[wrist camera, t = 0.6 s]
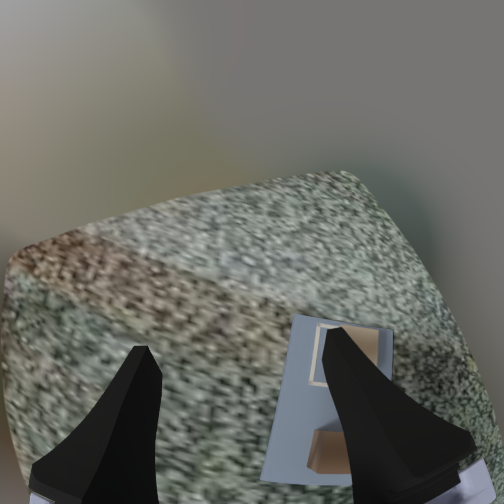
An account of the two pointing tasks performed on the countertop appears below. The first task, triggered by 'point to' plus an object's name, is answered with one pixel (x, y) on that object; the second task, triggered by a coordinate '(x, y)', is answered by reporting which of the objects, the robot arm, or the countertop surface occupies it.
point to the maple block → (364, 340)
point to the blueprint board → (309, 403)
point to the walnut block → (328, 453)
